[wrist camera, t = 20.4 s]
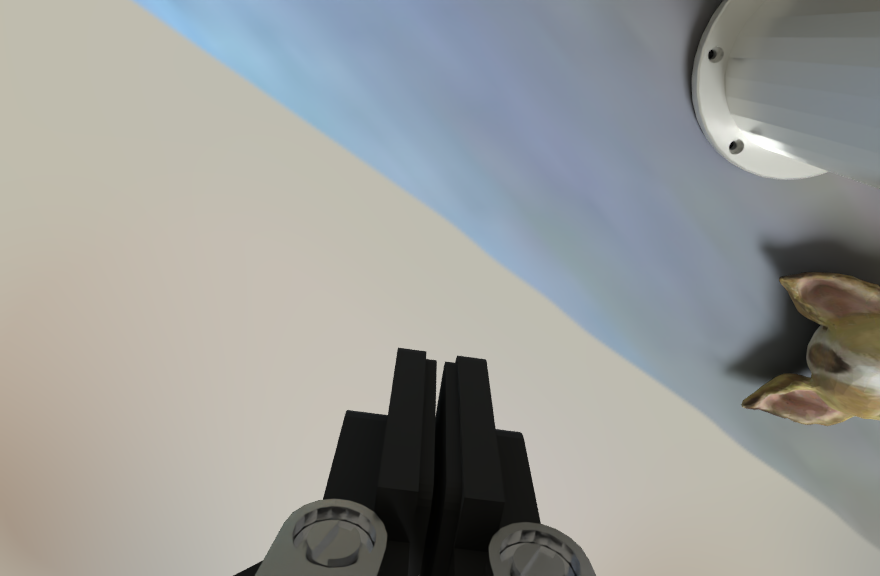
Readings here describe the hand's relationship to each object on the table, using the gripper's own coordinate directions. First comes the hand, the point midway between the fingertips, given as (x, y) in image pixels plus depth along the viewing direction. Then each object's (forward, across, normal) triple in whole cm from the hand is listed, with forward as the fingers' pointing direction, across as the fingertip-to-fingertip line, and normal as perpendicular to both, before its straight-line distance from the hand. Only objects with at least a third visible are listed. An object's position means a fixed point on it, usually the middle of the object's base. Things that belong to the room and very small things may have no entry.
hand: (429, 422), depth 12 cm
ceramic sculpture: (+30, -30, +8) cm, 43 cm away
